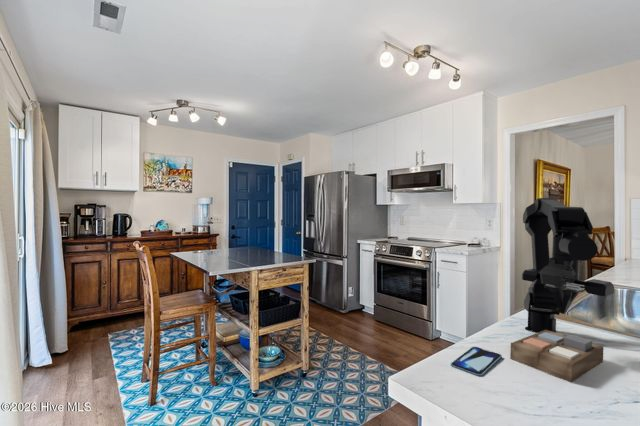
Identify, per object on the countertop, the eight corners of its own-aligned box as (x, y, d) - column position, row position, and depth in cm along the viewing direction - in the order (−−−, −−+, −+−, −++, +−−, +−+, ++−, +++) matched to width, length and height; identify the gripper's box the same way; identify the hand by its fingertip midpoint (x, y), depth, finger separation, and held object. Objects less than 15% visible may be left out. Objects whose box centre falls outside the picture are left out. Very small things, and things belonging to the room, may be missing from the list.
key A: (548, 362, 78) (549, 349, 78) (557, 358, 80) (557, 346, 80) (570, 370, 74) (571, 357, 74) (578, 365, 77) (578, 353, 77)
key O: (563, 349, 82) (564, 337, 82) (570, 345, 85) (571, 334, 85) (584, 356, 79) (585, 343, 79) (591, 352, 81) (592, 340, 81)
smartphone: (448, 364, 78) (473, 345, 88) (448, 368, 78) (473, 349, 88) (481, 376, 73) (503, 354, 83) (480, 380, 73) (503, 358, 83)
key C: (537, 346, 87) (537, 335, 87) (545, 342, 90) (545, 332, 90) (556, 352, 84) (556, 341, 84) (563, 348, 86) (563, 337, 86)
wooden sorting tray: (510, 358, 82) (510, 343, 82) (545, 343, 93) (545, 329, 93) (571, 382, 71) (571, 364, 71) (603, 362, 82) (603, 346, 82)
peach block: (522, 352, 83) (522, 341, 83) (530, 348, 85) (531, 337, 85) (541, 359, 79) (541, 347, 79) (549, 355, 82) (550, 343, 82)
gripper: (512, 251, 89) (509, 307, 89) (596, 263, 73) (593, 331, 73) (533, 249, 94) (531, 302, 95) (616, 259, 78) (613, 323, 79)
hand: (563, 313), depth 85 cm, fingers closed
